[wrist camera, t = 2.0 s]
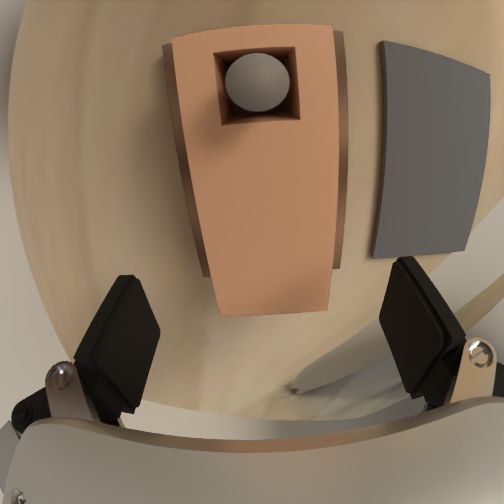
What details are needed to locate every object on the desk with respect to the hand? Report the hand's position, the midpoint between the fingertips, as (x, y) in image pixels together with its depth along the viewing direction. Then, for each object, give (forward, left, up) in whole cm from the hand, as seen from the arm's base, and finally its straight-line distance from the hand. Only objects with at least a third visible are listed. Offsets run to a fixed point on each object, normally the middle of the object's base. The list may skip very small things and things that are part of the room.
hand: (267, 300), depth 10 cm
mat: (-3, +13, -10) cm, 17 cm away
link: (-3, 0, -9) cm, 9 cm away
